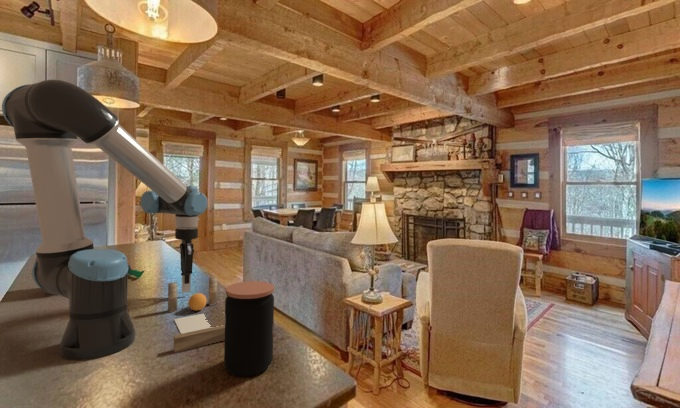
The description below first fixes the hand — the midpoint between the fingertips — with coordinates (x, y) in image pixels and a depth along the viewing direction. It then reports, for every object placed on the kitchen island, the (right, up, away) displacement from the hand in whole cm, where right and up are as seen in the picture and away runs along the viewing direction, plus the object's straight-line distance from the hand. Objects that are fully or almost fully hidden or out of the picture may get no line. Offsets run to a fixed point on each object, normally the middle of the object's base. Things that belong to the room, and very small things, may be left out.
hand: (186, 291), depth 119 cm
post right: (+13, -3, -7) cm, 15 cm away
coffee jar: (+36, -5, -45) cm, 58 cm away
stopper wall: (+24, -4, -34) cm, 42 cm away
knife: (-36, 0, +25) cm, 44 cm away
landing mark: (+16, -3, -23) cm, 28 cm away
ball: (+10, 0, -13) cm, 16 cm away
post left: (+2, -3, -14) cm, 15 cm away
